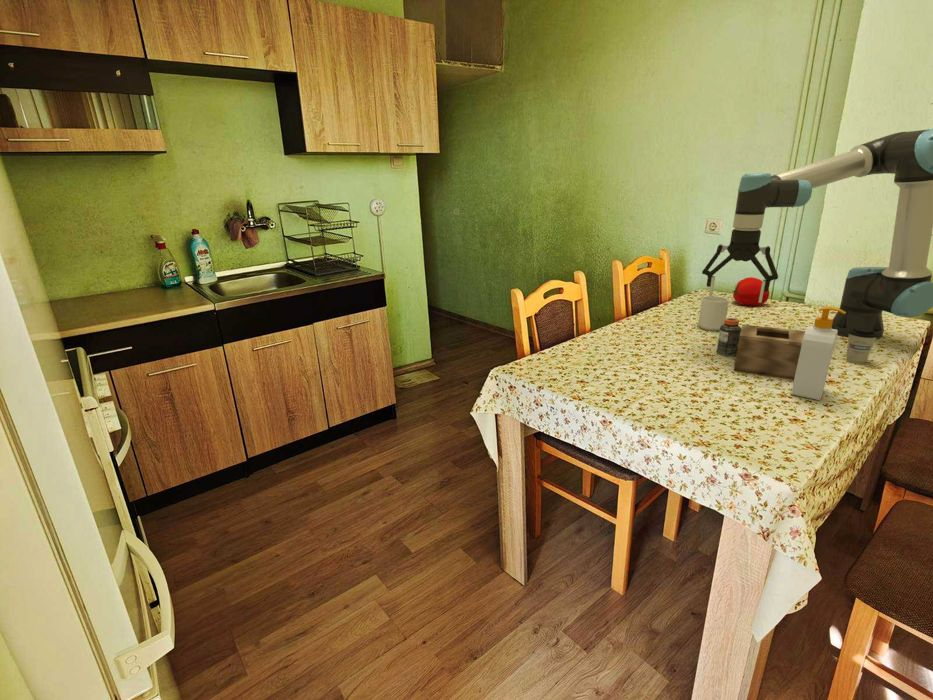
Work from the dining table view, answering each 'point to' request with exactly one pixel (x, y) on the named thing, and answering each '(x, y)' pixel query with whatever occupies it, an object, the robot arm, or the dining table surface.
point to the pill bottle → (729, 337)
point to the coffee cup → (860, 344)
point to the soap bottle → (815, 357)
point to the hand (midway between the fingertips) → (734, 299)
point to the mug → (713, 312)
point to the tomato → (749, 292)
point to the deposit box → (768, 351)
